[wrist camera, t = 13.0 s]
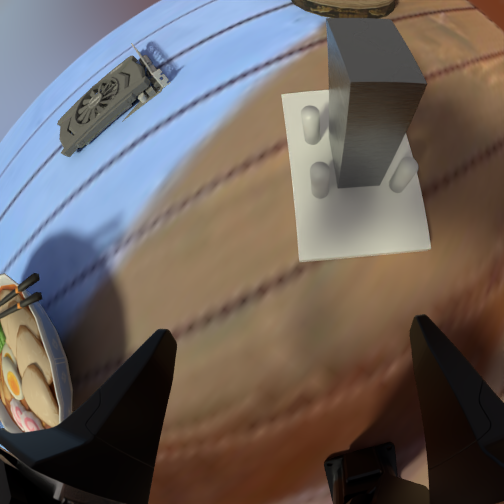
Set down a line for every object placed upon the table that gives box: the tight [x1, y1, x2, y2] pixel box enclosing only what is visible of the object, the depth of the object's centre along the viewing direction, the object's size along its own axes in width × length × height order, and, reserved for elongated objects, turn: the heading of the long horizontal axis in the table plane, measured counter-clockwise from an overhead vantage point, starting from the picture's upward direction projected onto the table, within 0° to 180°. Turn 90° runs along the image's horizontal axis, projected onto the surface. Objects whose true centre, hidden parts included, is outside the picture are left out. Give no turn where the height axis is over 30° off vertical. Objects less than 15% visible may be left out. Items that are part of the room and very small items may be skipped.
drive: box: [326, 18, 427, 189], centre depth 16 cm, size 5×4×13 cm
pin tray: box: [281, 90, 431, 262], centre depth 21 cm, size 16×11×5 cm
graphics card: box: [57, 43, 171, 157], centre depth 31 cm, size 17×4×12 cm
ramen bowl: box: [0, 273, 73, 433], centre depth 25 cm, size 25×23×8 cm
